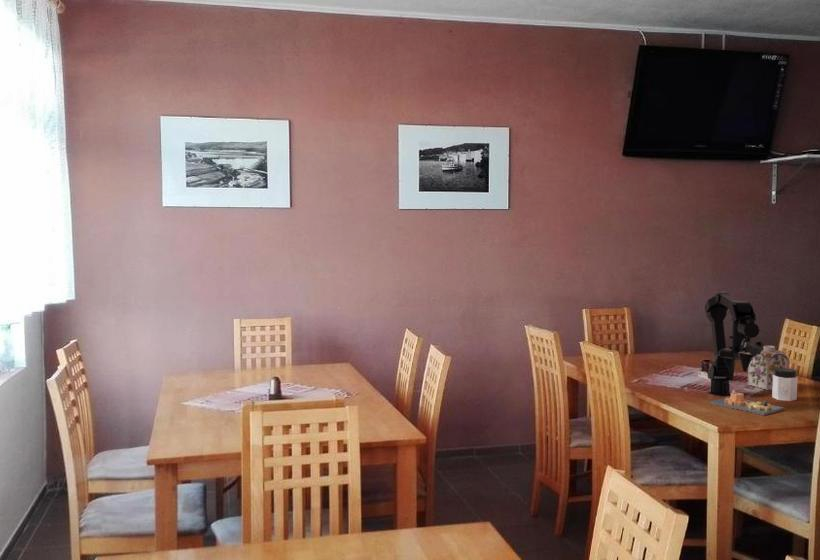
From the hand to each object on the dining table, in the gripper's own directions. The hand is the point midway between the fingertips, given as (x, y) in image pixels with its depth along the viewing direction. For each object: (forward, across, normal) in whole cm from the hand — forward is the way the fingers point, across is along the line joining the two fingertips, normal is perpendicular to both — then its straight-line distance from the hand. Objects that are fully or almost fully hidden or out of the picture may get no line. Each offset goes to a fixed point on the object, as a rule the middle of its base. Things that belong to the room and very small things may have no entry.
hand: (738, 373), depth 292 cm
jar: (+13, +24, -6) cm, 28 cm away
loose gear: (+11, -2, -1) cm, 12 cm away
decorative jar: (+13, +40, +11) cm, 44 cm away
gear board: (+12, -2, -5) cm, 13 cm away
